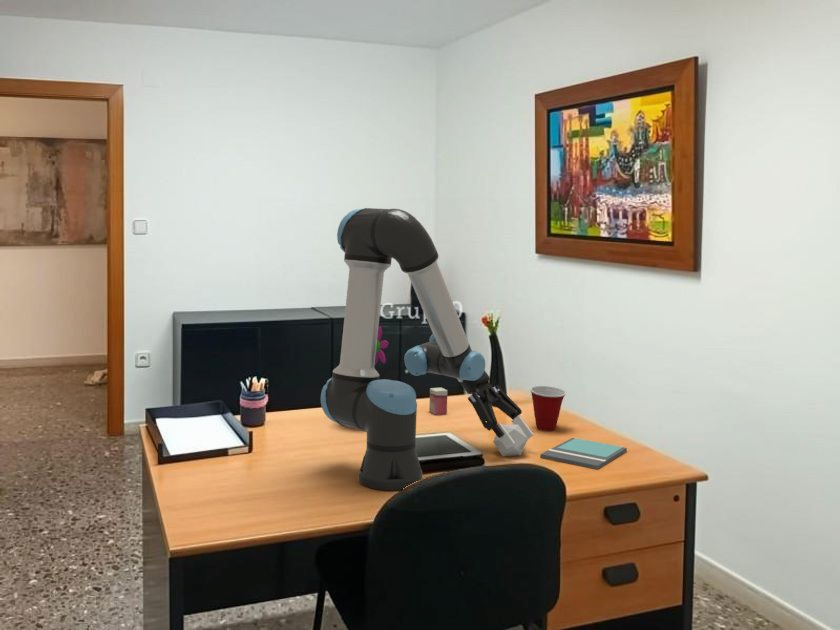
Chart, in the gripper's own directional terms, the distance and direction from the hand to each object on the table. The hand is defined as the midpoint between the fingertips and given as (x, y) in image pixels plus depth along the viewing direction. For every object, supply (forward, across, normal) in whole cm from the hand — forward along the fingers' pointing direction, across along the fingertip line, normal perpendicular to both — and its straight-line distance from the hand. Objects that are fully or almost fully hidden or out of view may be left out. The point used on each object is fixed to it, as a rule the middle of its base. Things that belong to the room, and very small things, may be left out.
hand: (520, 441), depth 214 cm
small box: (-27, -25, -33) cm, 50 cm away
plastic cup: (-2, -30, -8) cm, 31 cm away
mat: (+12, -12, +6) cm, 18 cm away
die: (+1, 0, -5) cm, 5 cm away
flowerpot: (-34, +1, -40) cm, 52 cm away
